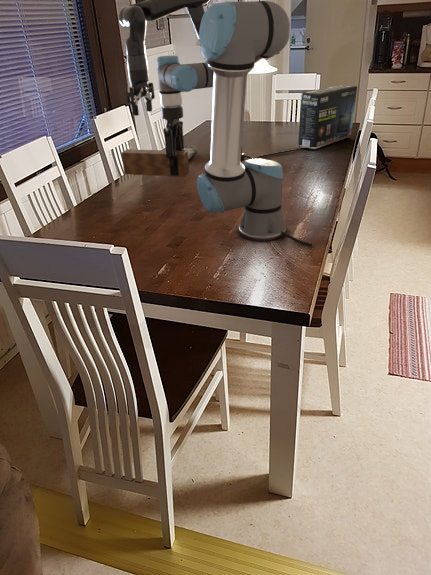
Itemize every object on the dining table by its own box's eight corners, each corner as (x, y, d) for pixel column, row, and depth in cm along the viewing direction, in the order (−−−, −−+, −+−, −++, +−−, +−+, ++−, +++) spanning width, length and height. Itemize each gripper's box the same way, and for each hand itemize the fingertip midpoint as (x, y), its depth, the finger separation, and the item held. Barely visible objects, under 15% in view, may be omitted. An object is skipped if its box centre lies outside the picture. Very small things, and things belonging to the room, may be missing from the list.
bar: (189, 172, 171) (187, 151, 167) (184, 176, 167) (183, 154, 163) (129, 170, 177) (127, 149, 173) (124, 174, 173) (121, 152, 169)
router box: (314, 151, 231) (318, 94, 217) (296, 148, 237) (299, 92, 224) (352, 138, 251) (358, 85, 238) (335, 135, 258) (340, 83, 245)
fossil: (184, 156, 217) (163, 136, 220) (174, 174, 223) (154, 154, 227) (205, 153, 231) (186, 134, 234) (195, 171, 237) (176, 152, 240)
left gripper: (141, 65, 179) (146, 109, 188) (117, 70, 169) (123, 116, 177) (157, 66, 176) (161, 110, 184) (133, 70, 166) (139, 117, 174)
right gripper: (170, 101, 166) (176, 165, 178) (151, 110, 151) (158, 179, 163) (190, 101, 164) (194, 166, 176) (172, 110, 149) (178, 180, 161)
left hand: (142, 113), depth 181 cm, fingers open, 8 cm apart
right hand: (177, 172), depth 170 cm, fingers closed on bar, 5 cm apart
